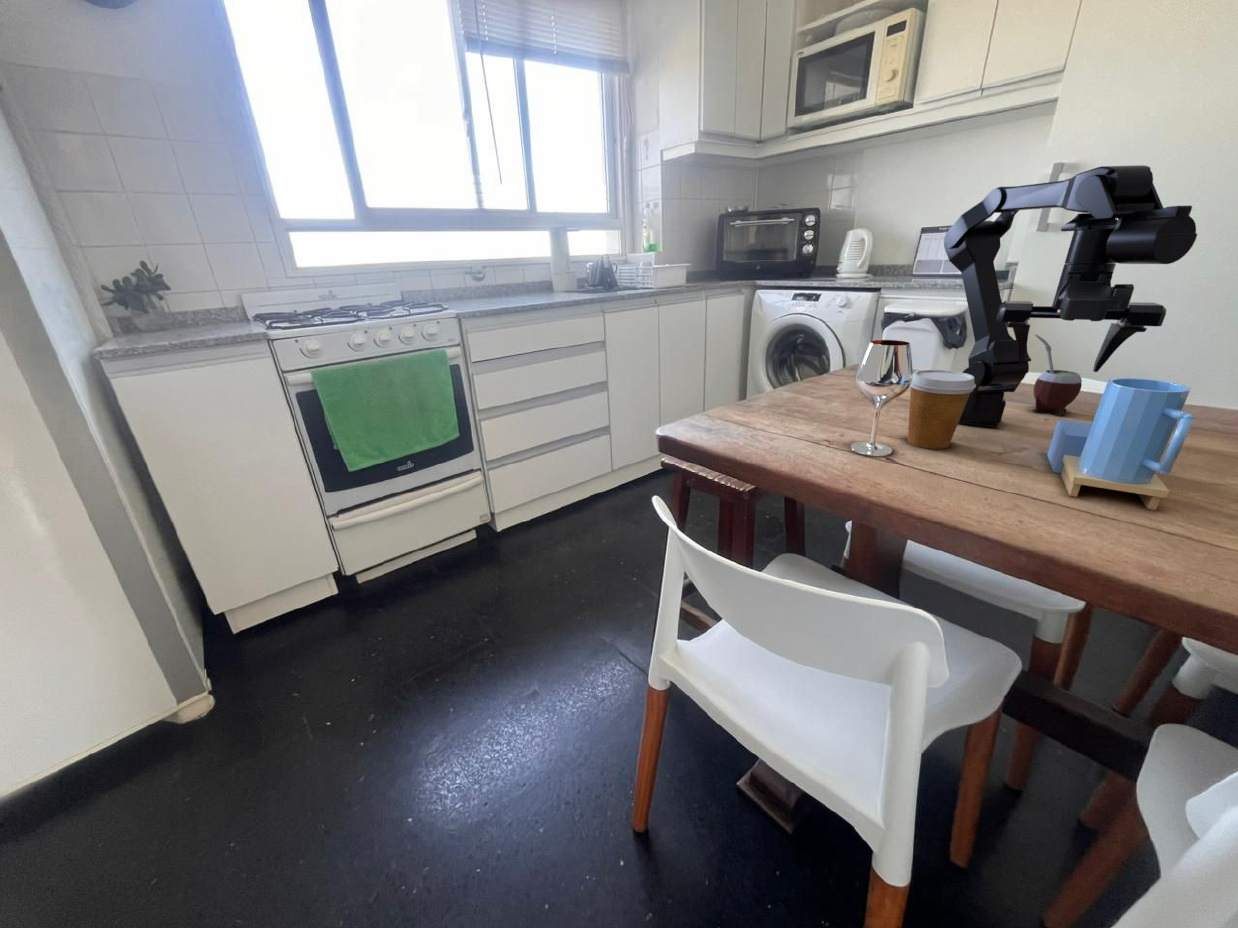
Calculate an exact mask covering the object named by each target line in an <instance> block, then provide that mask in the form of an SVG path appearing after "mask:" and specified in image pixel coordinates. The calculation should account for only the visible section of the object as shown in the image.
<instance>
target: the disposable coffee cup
mask: <svg viewBox="0 0 1238 928" xmlns="http://www.w3.org/2000/svg"><path fill="white" fill-rule="evenodd" d="M962 372H963V371H956V370H948V369H947V370H945V369H919V370H916V371H913V379H912V383H911V385H910V395H909V408H908V409H909V412H908V426H907V428H908V429H907V442H908V443H909V444H911V445H913V446H916V447H920V448H922V449H923V448H924V449H931V450H942V449H948V448H949V447H950V445H951V442H952V440H953V437H954V435H955V432H956V430H957V428H958V426H959V424H958V422H959V420H960V418H961V415H962V413H963V410H964V408H965V405H966V403H967V400H968V398H969V395H970V393H971V392H972V391H973V389H974V388H975V387H976V385H975V384H974V376H972V375H970V374H966V373H962Z"/></svg>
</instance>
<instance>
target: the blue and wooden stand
mask: <svg viewBox="0 0 1238 928" xmlns="http://www.w3.org/2000/svg"><path fill="white" fill-rule="evenodd" d="M1092 424H1093V422H1084V421H1075V420H1066V419H1058V420H1057V424H1056V427H1055V430H1054V433H1053V436H1052V439H1051V442H1050V446H1049V448H1048V450H1047V454H1046V455H1047V459H1048V461H1049V463H1050V466H1051V470H1052V472H1053V473H1056V474H1060V476H1061V478H1062V481H1063V483H1064V486H1065V488H1066V491H1067V493H1068V496H1070V497H1075V498H1077V497H1078V495H1079V492H1080V489H1081V487H1082V486H1087V487H1093V488H1099V489H1106V490H1110V491H1111V490H1112V491H1118V492H1123V493H1124V492H1125V493H1130V494H1131V493H1132V494H1136V495H1137V496H1138V497H1139V499H1140V500H1141V502H1142V503H1143V504H1144V506H1145V507H1146V509H1147V510H1152V511H1156V510H1157V509H1158V507H1159V504H1160V503H1161V499H1162V498H1163V499H1167V498H1168V496H1169V494H1170V490H1169V489H1168V487H1167V486H1166V485H1165V484H1164V483H1163V481H1162V480H1161V479H1160V477H1159V476H1158V475H1157V474H1156V473H1155V474H1154V476H1153V478H1152V480H1151V482H1149V483H1145V484H1129V483H1120V482H1114V481H1109V480H1105V479H1101V478H1098V477H1095V476H1092V475H1089V474H1087V473H1085V472H1083V471H1081V470H1080V469H1079V468H1078V464H1079V460H1080V457H1081V454H1082V452H1083V449H1084V446H1085V443H1086V440H1087V438H1088V435H1089V432H1090V429H1091V426H1092Z"/></svg>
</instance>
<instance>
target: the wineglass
mask: <svg viewBox="0 0 1238 928" xmlns="http://www.w3.org/2000/svg"><path fill="white" fill-rule="evenodd" d="M913 365H914V364H913V355H912V346H911V342H910V341H905V340H898V339H877V340H876V339H875V340H874V339H873V340H870V341H869V342H868V344H867V346H866V348H865V350H864V353H863V355H862V357H861V359H860V361H859V364H858V367H857V370H856V373H855V377H854V379H855V384H856V387H857V389H858V390H859V392H860V393H861V394H862V395H863V396H864V397H865V398H866V399H867V400H868V401H869V403H871V405H872V406H873V408H874V411H873V412H874V414H873V419H872V425H871V431H870V435H869V439H868V441H856V442H853V443H851V444H850V450H851V451H853V452H855V453H857V454H860V455H864V456H868V457H869V456H870V457H886V456H889V455H891V454H892V452H893V449H892V448H891V447H890V446H888V445H886V444H883V443H880V442H876V438H877V430H878V425H879V419H880V414H881V410H882V409H883V408H884V407H885V406H886V405H888V404H889V403H891V402H893V401H895V400H896V399H898V398H899V397H901V396H902V395H903V394H905V393H906V392H907V391H908V390H909V389H910V388H911V386H910V385H911V383H912V379H913V373H914V367H913Z"/></svg>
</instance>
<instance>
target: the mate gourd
mask: <svg viewBox="0 0 1238 928" xmlns="http://www.w3.org/2000/svg"><path fill="white" fill-rule="evenodd" d="M1035 337H1036V338H1037V339H1038V340H1039V341H1040V342H1041V343H1042V344H1043V345H1044V349H1045V352H1046V354H1047V361H1048V368H1049V369H1047V370H1044V371H1042V373H1041V374H1040V375H1038V377H1037V378H1036V380H1035V383H1034V385H1033V398H1034V400H1035V408H1034V409H1033V408H1032V412H1033V413H1035V414H1036V413H1050V414H1051V415H1055V416H1058V417H1064V415H1065V413H1066V412H1067V410H1068V409H1067V408H1066V407H1068V406H1069V405H1071V403H1073V402H1074V400H1075V399H1076V398H1077V397H1078V396H1079V394H1080V392H1081V390H1082V385H1083V384H1082V382H1083V380H1082V377H1081V375H1080V374H1079V373H1078V372H1075V371H1072V370H1071V371H1070V370H1063V369H1054V363H1053V357H1052V348H1051V345H1050V344H1049V343H1048V342H1047V341H1046V340H1045V339H1044V338H1042V337H1041V336H1040V335H1038V334H1035Z"/></svg>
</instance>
